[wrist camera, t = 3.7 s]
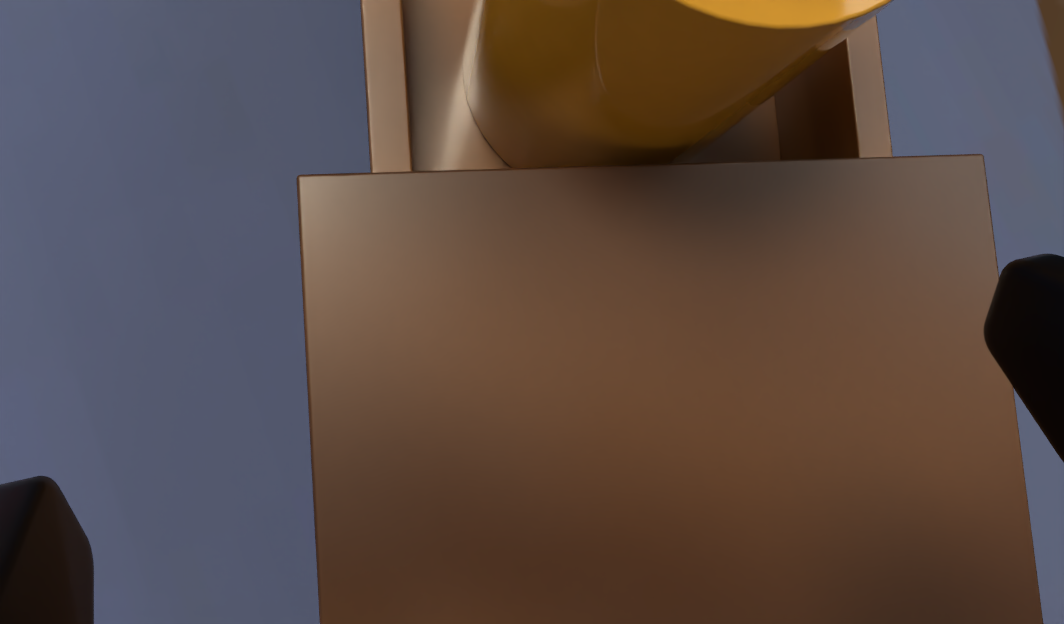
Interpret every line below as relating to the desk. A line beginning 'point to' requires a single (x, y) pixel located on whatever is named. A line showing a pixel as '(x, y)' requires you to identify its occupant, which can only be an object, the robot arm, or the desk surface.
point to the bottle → (636, 72)
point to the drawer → (457, 144)
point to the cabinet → (662, 396)
